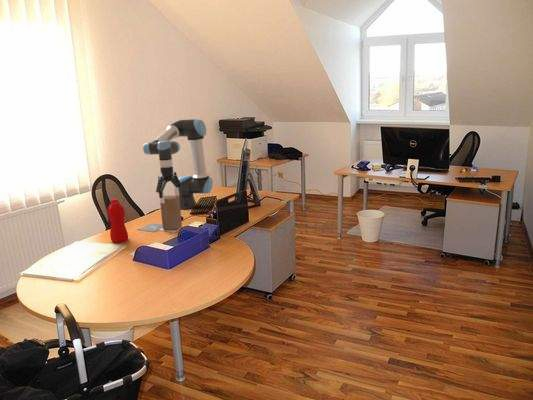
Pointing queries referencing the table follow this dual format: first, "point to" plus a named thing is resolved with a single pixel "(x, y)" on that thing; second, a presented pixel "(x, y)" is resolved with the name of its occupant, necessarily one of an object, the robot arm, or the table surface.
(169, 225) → the block
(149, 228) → the tile
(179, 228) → the mat
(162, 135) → the robot arm
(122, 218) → the water bottle
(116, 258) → the table surface
